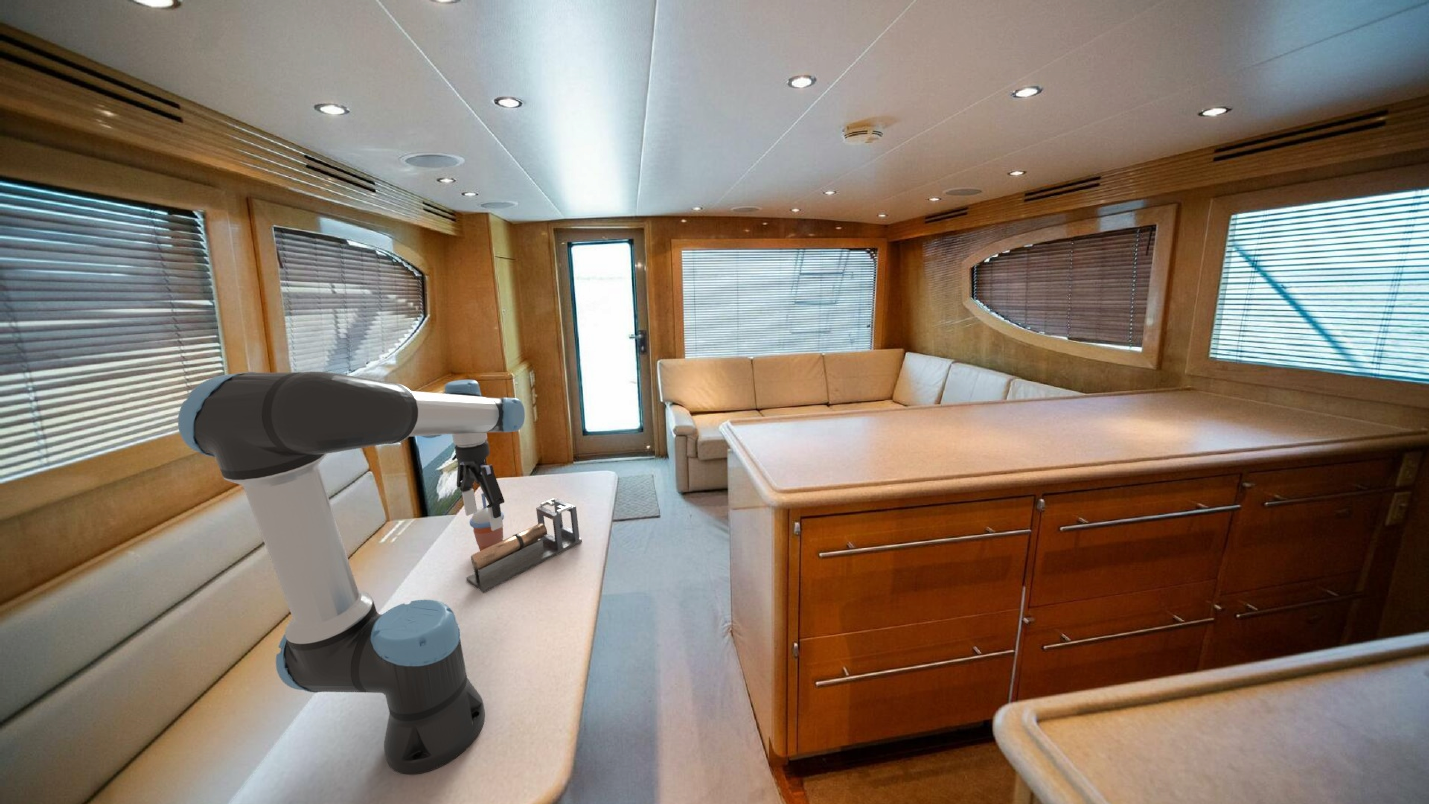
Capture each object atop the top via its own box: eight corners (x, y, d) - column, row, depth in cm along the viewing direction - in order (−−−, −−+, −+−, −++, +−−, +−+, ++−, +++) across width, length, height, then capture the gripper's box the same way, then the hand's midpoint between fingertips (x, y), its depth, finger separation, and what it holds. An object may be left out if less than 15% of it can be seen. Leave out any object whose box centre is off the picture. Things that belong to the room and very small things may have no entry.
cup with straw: (508, 554, 141) (499, 497, 137) (473, 561, 138) (463, 503, 133) (508, 539, 149) (500, 485, 145) (476, 546, 146) (466, 490, 142)
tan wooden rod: (480, 572, 124) (477, 557, 123) (472, 566, 127) (469, 552, 126) (548, 538, 140) (546, 524, 138) (539, 533, 142) (537, 520, 141)
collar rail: (483, 592, 123) (476, 547, 120) (466, 580, 129) (459, 537, 126) (582, 541, 146) (577, 502, 143) (564, 533, 152) (559, 495, 149)
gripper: (511, 447, 115) (523, 528, 120) (463, 430, 130) (475, 502, 135) (480, 457, 109) (494, 541, 114) (433, 437, 124) (447, 513, 130)
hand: (484, 520), depth 125 cm, fingers open, 13 cm apart
